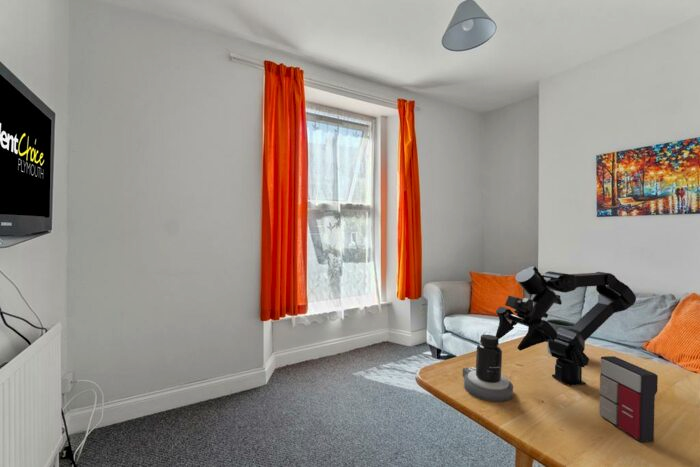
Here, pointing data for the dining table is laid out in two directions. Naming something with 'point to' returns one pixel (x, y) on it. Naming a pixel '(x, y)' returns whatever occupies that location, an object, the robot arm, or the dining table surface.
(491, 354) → the supplement bottle
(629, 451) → the dining table surface
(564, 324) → the drinking glass
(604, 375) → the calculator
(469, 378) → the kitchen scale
